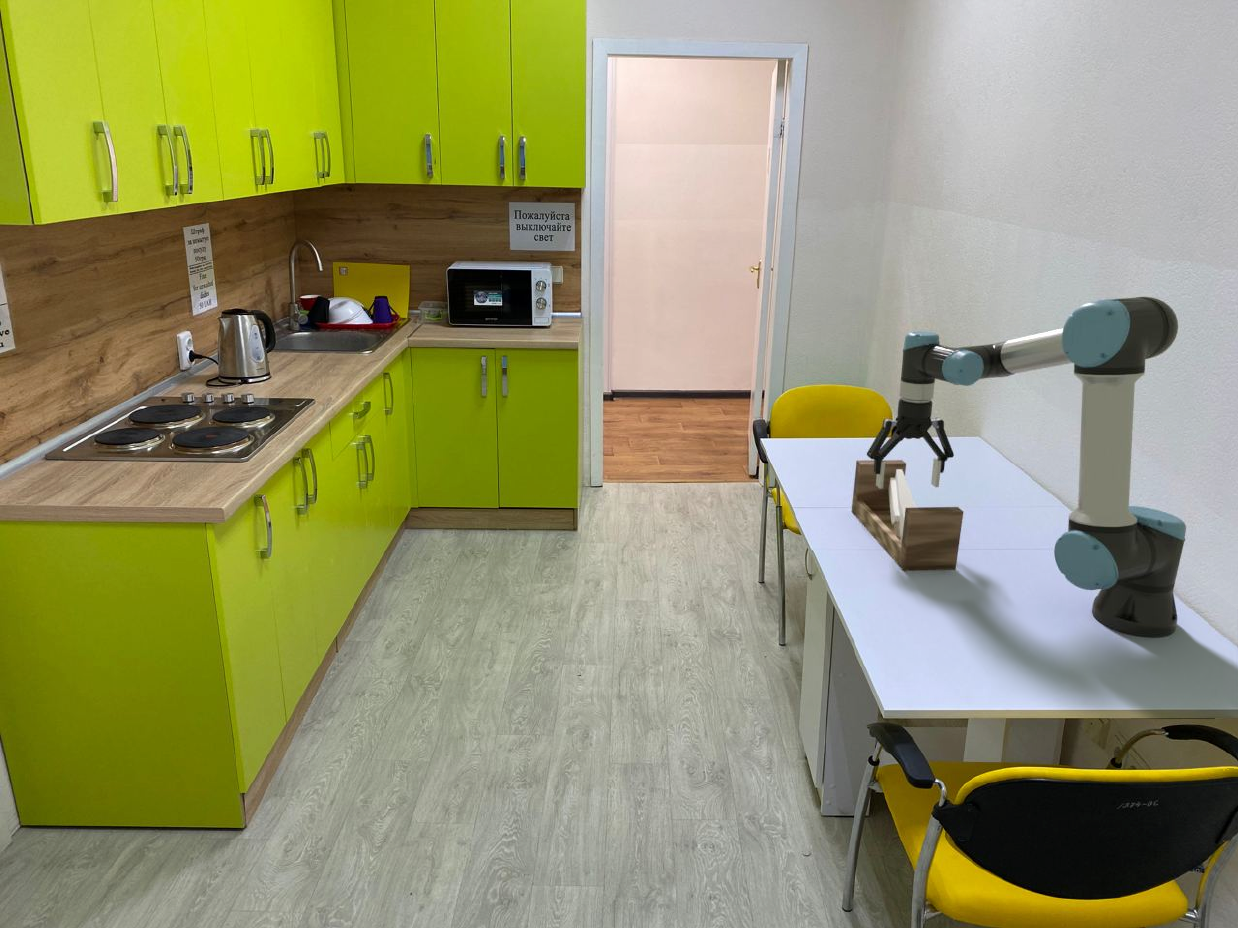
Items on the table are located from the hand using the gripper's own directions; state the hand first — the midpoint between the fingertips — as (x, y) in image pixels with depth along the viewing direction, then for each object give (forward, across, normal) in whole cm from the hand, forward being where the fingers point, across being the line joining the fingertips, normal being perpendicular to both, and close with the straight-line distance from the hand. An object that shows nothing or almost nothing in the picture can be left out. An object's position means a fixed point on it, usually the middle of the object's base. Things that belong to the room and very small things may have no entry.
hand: (907, 486), depth 227 cm
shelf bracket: (+13, 0, -3) cm, 13 cm away
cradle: (+14, 0, -1) cm, 14 cm away
